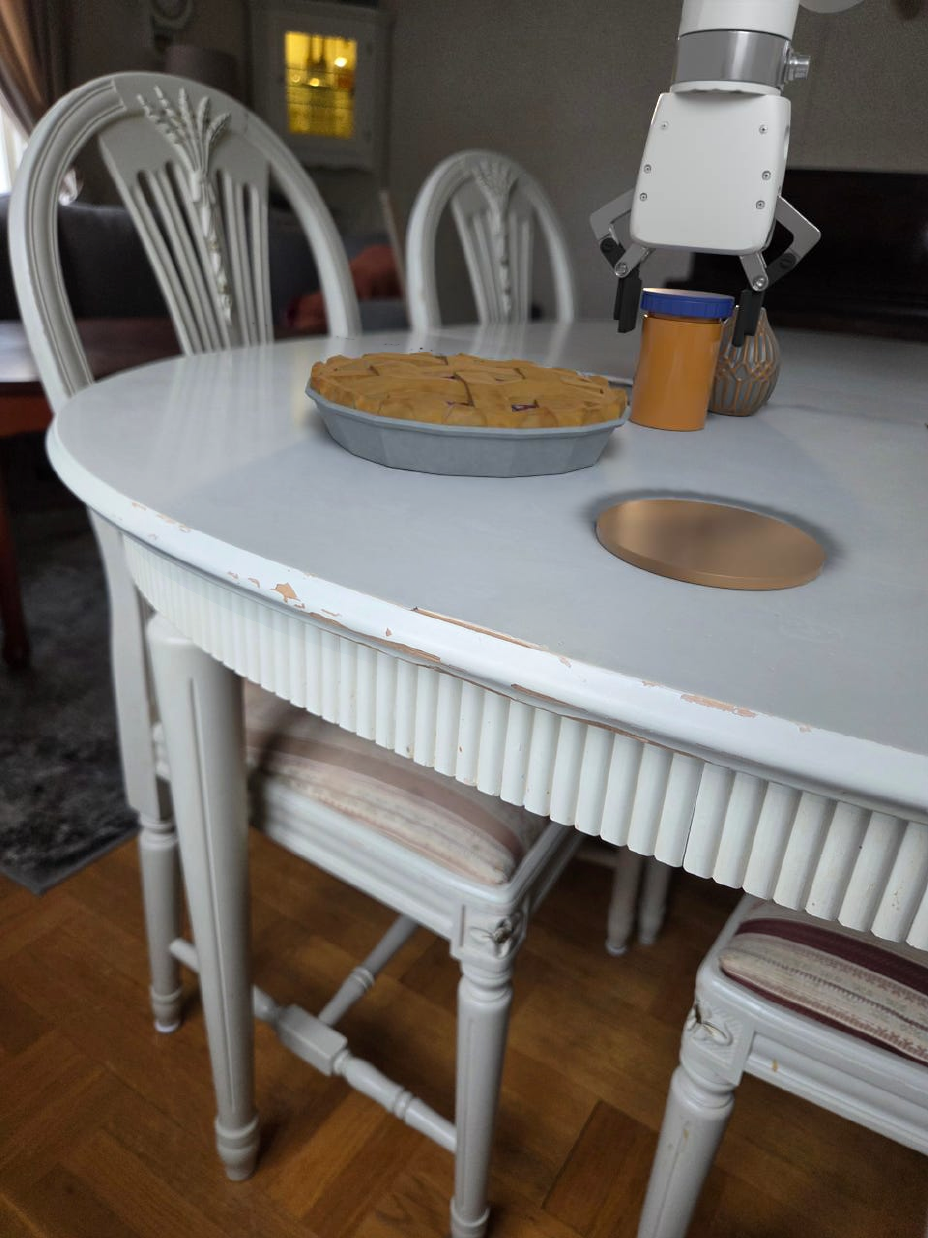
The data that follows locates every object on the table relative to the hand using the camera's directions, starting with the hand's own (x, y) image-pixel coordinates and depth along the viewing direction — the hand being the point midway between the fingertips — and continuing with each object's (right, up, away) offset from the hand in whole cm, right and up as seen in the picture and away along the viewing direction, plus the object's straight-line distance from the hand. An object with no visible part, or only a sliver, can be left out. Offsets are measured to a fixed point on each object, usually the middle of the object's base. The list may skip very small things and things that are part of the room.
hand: (680, 337), depth 65 cm
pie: (-17, -10, -7) cm, 21 cm away
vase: (+7, -4, +9) cm, 12 cm away
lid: (0, +3, -1) cm, 3 cm away
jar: (0, -6, +3) cm, 7 cm away
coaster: (-5, -18, -23) cm, 30 cm away
